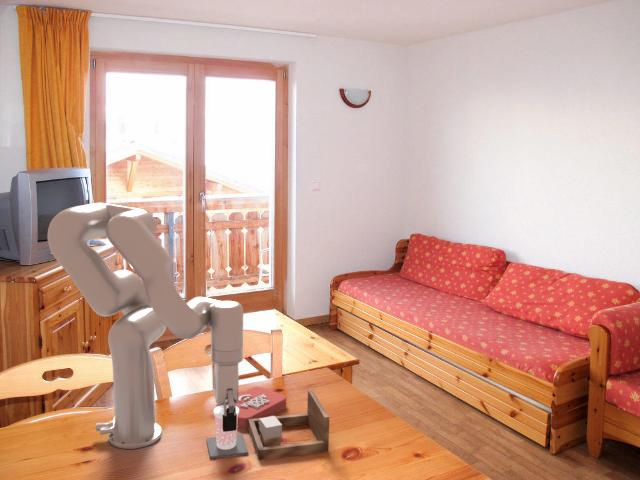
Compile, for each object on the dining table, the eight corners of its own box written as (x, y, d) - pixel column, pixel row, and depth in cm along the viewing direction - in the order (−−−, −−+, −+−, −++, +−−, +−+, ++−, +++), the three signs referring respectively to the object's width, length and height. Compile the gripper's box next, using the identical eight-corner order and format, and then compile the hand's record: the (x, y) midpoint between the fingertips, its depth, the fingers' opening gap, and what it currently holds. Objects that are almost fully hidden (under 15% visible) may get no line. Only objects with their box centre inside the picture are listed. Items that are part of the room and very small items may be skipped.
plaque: (250, 380, 179) (289, 395, 170) (250, 393, 180) (289, 407, 171) (204, 401, 165) (245, 417, 156) (204, 414, 165) (245, 431, 157)
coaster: (210, 458, 142) (210, 456, 142) (206, 440, 151) (206, 437, 151) (248, 454, 145) (248, 452, 145) (242, 436, 153) (242, 433, 153)
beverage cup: (226, 435, 152) (226, 383, 149) (244, 443, 148) (244, 389, 146) (208, 445, 147) (208, 391, 145) (226, 453, 143) (226, 398, 141)
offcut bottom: (263, 451, 147) (264, 439, 146) (260, 439, 153) (260, 428, 152) (280, 449, 148) (280, 438, 147) (276, 437, 153) (276, 426, 153)
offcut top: (266, 439, 146) (266, 427, 146) (259, 429, 151) (259, 418, 151) (281, 436, 148) (282, 424, 148) (274, 426, 153) (274, 415, 152)
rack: (258, 459, 142) (259, 424, 141) (248, 427, 158) (248, 395, 156) (328, 451, 147) (329, 416, 145) (311, 421, 162) (312, 389, 161)
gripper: (207, 342, 151) (207, 406, 154) (214, 368, 134) (215, 440, 137) (237, 340, 153) (237, 404, 156) (248, 365, 136) (248, 436, 139)
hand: (227, 420), depth 147 cm, fingers open, 9 cm apart
